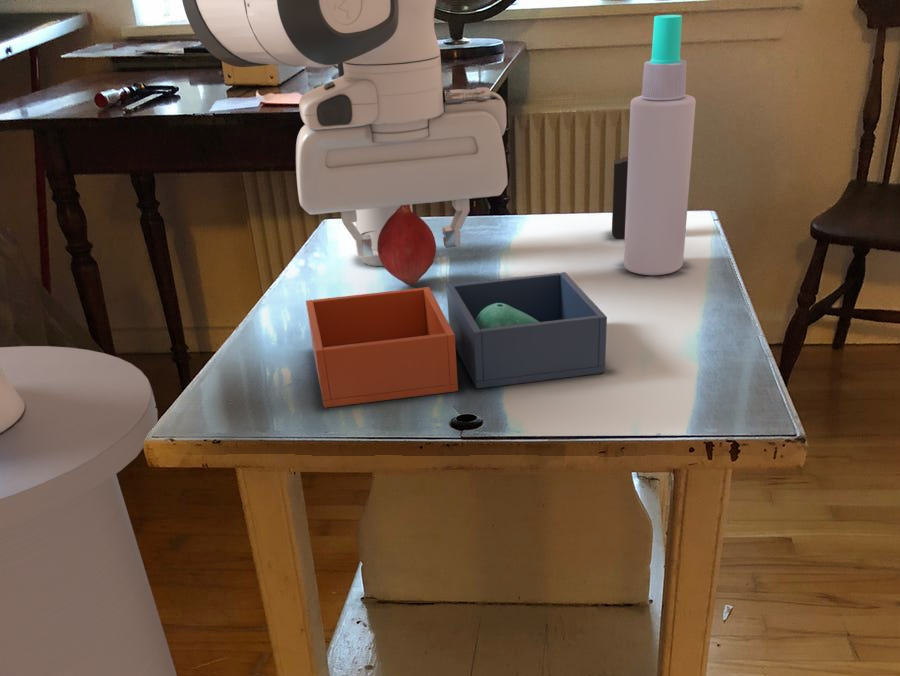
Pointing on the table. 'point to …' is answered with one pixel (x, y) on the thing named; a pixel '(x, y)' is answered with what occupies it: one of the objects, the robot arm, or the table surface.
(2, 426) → the robot arm
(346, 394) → the terracotta bin
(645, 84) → the spray bottle
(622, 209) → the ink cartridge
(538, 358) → the blue bin
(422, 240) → the onion
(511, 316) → the whale figurine
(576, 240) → the table surface
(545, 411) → the table surface
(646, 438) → the table surface
